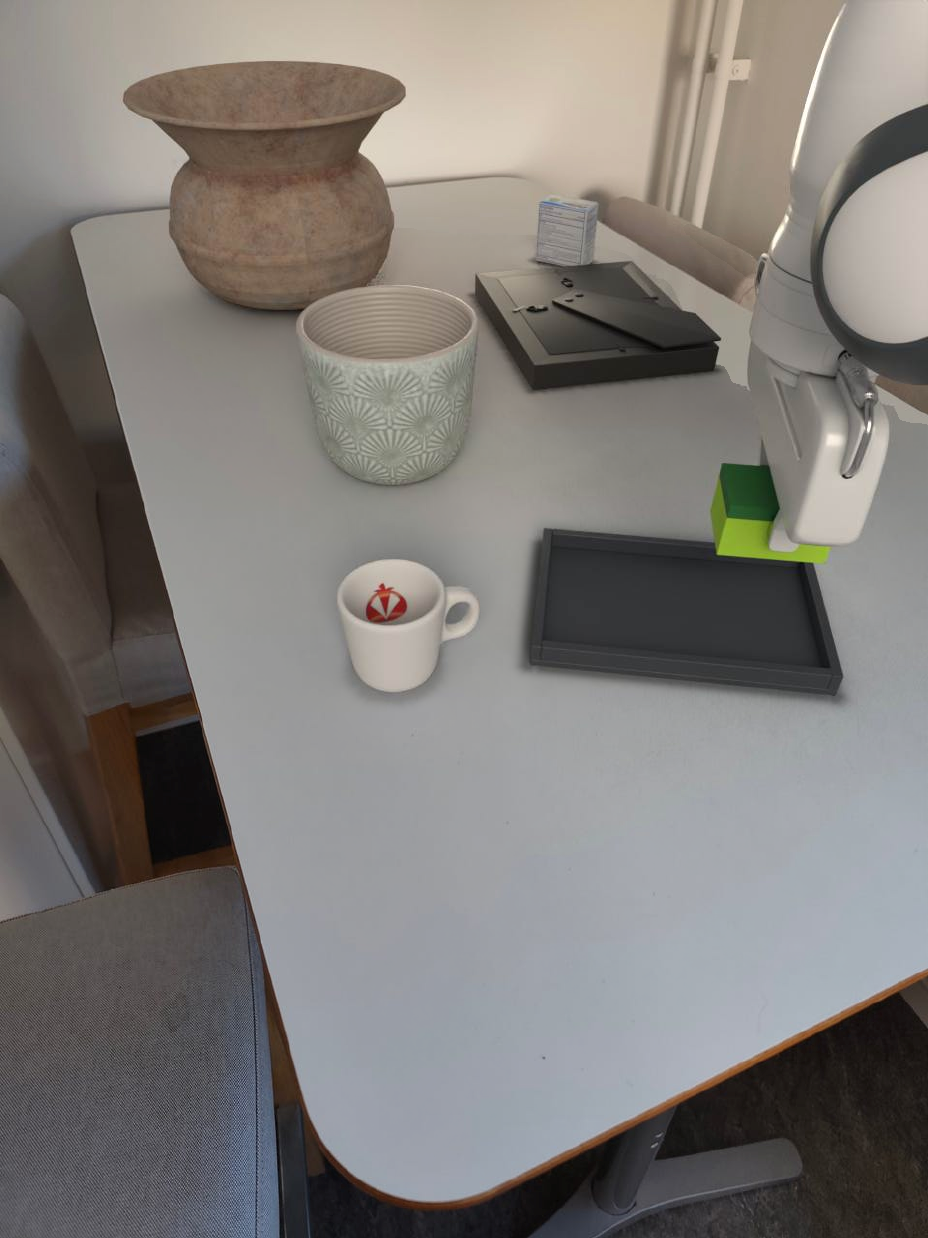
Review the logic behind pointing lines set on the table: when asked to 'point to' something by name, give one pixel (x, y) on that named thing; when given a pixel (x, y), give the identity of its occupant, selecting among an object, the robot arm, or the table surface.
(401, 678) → the cup
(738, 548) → the sponge
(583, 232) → the medicine box
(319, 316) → the planter
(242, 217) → the pot
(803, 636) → the tray
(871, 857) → the table surface
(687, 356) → the picture frame
